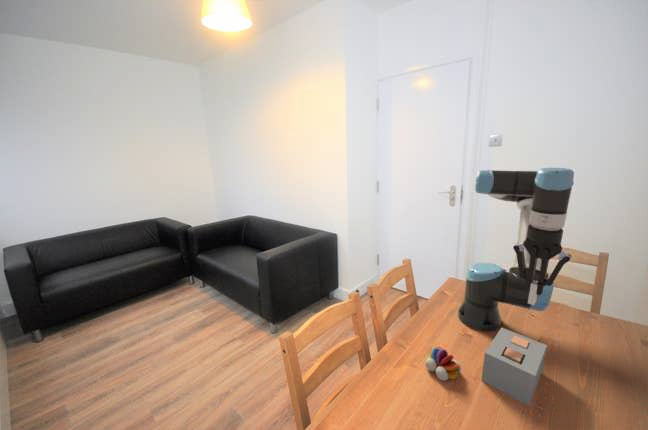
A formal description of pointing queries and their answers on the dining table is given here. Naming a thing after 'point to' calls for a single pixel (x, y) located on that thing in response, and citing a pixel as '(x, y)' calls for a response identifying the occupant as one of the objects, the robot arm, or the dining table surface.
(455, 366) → the rainbow disc toy
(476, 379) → the dining table surface
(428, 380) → the dining table surface
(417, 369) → the dining table surface
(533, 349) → the socket block
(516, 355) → the peg
